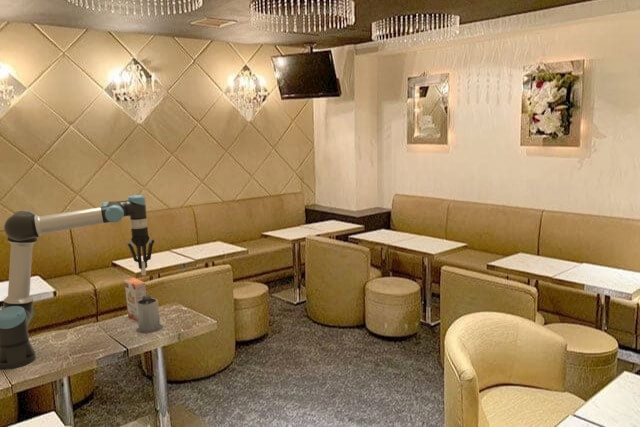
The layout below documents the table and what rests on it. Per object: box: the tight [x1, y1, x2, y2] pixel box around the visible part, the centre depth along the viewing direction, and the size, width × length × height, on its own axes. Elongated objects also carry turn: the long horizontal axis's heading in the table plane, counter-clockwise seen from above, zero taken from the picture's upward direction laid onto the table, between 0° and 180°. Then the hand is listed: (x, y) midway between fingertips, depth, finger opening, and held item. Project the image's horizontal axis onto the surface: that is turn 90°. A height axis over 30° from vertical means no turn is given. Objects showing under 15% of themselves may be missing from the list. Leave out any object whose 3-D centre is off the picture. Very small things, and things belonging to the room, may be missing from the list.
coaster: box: [135, 323, 164, 335], centre depth 263 cm, size 13×13×1 cm
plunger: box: [142, 294, 152, 304], centre depth 261 cm, size 7×7×12 cm
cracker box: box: [124, 277, 147, 322], centre depth 277 cm, size 14×6×21 cm, turn 42°
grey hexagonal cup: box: [136, 297, 161, 332], centre depth 262 cm, size 10×10×14 cm
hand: (143, 274), depth 258 cm, fingers closed
